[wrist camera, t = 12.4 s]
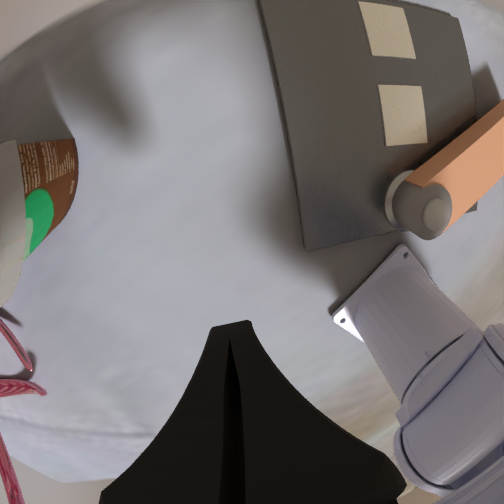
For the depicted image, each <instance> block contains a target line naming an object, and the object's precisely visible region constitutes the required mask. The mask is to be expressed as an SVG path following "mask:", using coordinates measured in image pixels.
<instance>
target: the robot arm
mask: <svg viewBox="0 0 504 504" xmlns="http://www.w3.org/2000/svg"><path fill="white" fill-rule="evenodd" d="M405 253H406V254H405ZM404 254H405V256H404ZM342 318H344V319H343V320H341V319H342ZM332 319H333V321H334V322H335V323H336V324H338V325H339V326H341V327H342V328H344V329H345V330H346V331H348V332H349V333H351V334H352V335H354V336H355V337H356V338H358V339H359V340H361V341H362V342H364V343H365V344H366V346H367V347H368V349H369V351H370V352H371V354H372V356H373V357H374V359H375V361H376V362H377V364H378V366H379V367H380V369H381V371H382V372H383V374H384V376H385V377H386V379H387V381H388V383H389V384H390V386H391V388H392V390H393V391H394V393H395V395H396V396H397V398H398V400H399V402H400V404H401V405H402V406H401V407H400V409H399V410H398V411H397V412H396V413H395V415H396V417H397V419H398V421H399V423H400V425H401V426H400V427H399V428H398V429H397V431H396V433H395V436H394V452H395V457H396V461H397V464H398V466H399V468H400V470H401V472H402V473H403V475H404V476H405V477H406V478H407V479H408V480H409V481H410V482H411V483H412V484H414V485H415V486H417V487H419V488H420V489H422V490H425V491H428V492H432V493H435V494H437V495H439V496H440V497H442V499H440V500H438V501H437V502H435V503H433V504H504V325H503V324H496V325H489V326H488V327H487V329H486V330H485V331H482V330H481V329H480V328H479V327H478V326H477V325H476V324H475V323H474V322H473V321H472V320H471V319H470V318H469V317H468V316H467V315H466V314H465V313H464V312H463V311H462V310H461V309H460V308H459V307H457V306H456V305H455V304H454V303H453V302H452V301H451V300H450V299H449V298H448V297H447V296H446V295H445V294H444V293H443V292H442V291H440V290H439V289H438V288H437V286H436V285H435V284H434V282H433V281H432V279H431V278H430V277H429V275H428V274H427V272H426V271H425V270H424V268H423V267H422V266H421V264H420V263H419V262H418V260H417V259H416V258H415V256H414V255H413V254H412V252H411V251H410V250H409V249H408V247H407V246H405V245H404V244H400V245H398V246H397V247H396V249H395V250H394V251H393V252H392V253H391V254H390V255H389V256H388V257H387V259H386V260H385V261H384V262H383V263H382V264H381V265H380V266H379V267H378V268H377V269H376V270H375V271H374V273H373V274H372V275H371V276H370V277H369V278H368V279H367V280H366V281H365V282H364V283H363V284H362V285H361V286H360V287H359V288H358V289H357V290H356V291H355V292H354V293H353V294H352V295H351V296H350V297H349V298H348V299H347V300H346V301H345V302H344V303H343V304H342V305H341V306H340V307H339V308H338V309H337V310H336V311H335V312H334V313H333V314H332ZM406 486H407V484H406V482H405V479H404V478H403V476H402V474H401V473H400V471H399V470H398V468H397V467H396V466H395V465H394V463H393V462H392V461H391V460H390V459H389V458H388V457H387V456H386V454H384V453H383V452H381V451H379V450H377V449H375V448H373V447H372V446H370V445H368V444H366V443H365V442H363V441H361V440H360V439H358V438H356V437H355V436H353V435H352V434H350V433H349V432H347V431H346V430H344V429H343V428H341V427H340V426H338V425H337V424H336V423H334V422H333V421H332V420H331V419H329V418H328V417H327V416H325V415H324V414H323V413H322V412H320V411H319V410H318V409H317V408H315V407H314V406H313V405H312V404H311V403H310V402H309V401H308V400H307V399H306V398H304V397H303V396H302V395H301V394H300V393H299V392H298V391H297V390H296V389H295V388H294V386H293V385H292V384H291V383H290V382H289V381H288V380H287V379H286V378H285V376H284V375H283V374H282V373H281V372H280V370H279V369H278V368H277V367H276V365H275V364H274V363H273V361H272V360H271V358H270V357H269V356H268V354H267V353H266V351H265V350H264V348H263V347H262V345H261V343H260V341H259V340H258V338H257V336H256V334H255V332H254V329H253V327H252V323H251V321H249V320H244V321H240V322H235V323H230V324H225V325H220V326H216V327H212V328H211V330H210V332H209V335H208V338H207V341H206V344H205V347H204V350H203V352H202V355H201V358H200V360H199V362H198V365H197V367H196V369H195V372H194V374H193V376H192V378H191V380H190V382H189V384H188V386H187V388H186V390H185V392H184V394H183V396H182V398H181V399H180V401H179V403H178V405H177V406H176V408H175V410H174V411H173V413H172V414H171V416H170V417H169V419H168V421H167V422H166V423H165V425H164V426H163V428H162V429H161V430H160V432H159V433H158V435H157V436H156V437H155V438H154V440H153V441H152V442H151V443H150V445H149V446H148V447H147V448H146V449H145V450H144V452H143V453H142V454H141V455H140V456H139V457H138V458H137V459H136V460H135V461H134V463H133V464H132V465H131V466H130V467H129V468H128V469H127V470H126V471H125V472H124V473H122V474H121V475H120V476H119V477H118V478H117V479H116V480H115V481H113V482H112V483H111V484H110V485H109V486H108V487H106V488H105V489H104V490H103V491H102V492H101V496H100V500H99V504H398V502H397V500H396V498H397V497H398V496H399V495H400V494H401V493H402V492H403V491H404V490H405V488H406Z"/></svg>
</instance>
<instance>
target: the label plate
mask: <svg viewBox="0 0 504 504" xmlns="http://www.w3.org/2000/svg"><path fill="white" fill-rule="evenodd" d="M258 2H259V6H260V10H261V14H262V18H263V22H264V26H265V30H266V34H267V39H268V43H269V47H270V52H271V56H272V61H273V65H274V70H275V75H276V80H277V85H278V89H279V94H280V99H281V105H282V110H283V115H284V120H285V126H286V131H287V137H288V143H289V149H290V155H291V161H292V167H293V173H294V179H295V186H296V192H297V199H298V206H299V213H300V220H301V228H302V235H303V243H304V248H305V250H306V251H311V250H315V249H319V248H324V247H328V246H332V245H336V244H341V243H345V242H349V241H353V240H358V239H362V238H366V237H370V236H374V235H379V234H383V233H387V232H391V231H395V230H401V231H410V230H408V229H407V228H405V227H403V226H402V225H400V224H399V223H398V222H397V221H396V219H395V218H394V215H393V212H392V200H393V196H394V193H395V191H396V189H397V187H398V186H399V185H400V183H401V182H403V181H404V178H406V177H407V176H408V175H410V174H411V173H412V172H414V171H415V170H416V169H418V168H419V167H420V166H421V165H423V164H424V163H425V162H427V161H428V160H429V159H430V158H432V157H433V156H434V155H436V154H437V153H438V152H439V151H441V150H442V149H443V148H444V147H446V146H447V145H448V144H450V143H451V142H452V141H453V140H455V139H456V138H457V137H458V136H460V135H461V134H462V133H463V132H465V131H466V130H467V129H468V128H469V127H471V126H472V125H473V124H474V123H476V122H477V115H476V105H475V96H474V89H473V82H472V76H471V70H470V65H469V60H468V55H467V51H466V46H465V42H464V38H463V34H462V30H461V27H460V23H459V20H458V18H455V17H452V16H449V15H446V14H443V13H439V12H436V11H432V10H429V9H425V8H421V7H417V6H413V5H408V4H404V3H399V2H393V1H388V0H258ZM476 210H477V202H476V203H475V204H474V205H473V206H472V207H471V208H469V209H468V210H467V211H466V212H465V213H468V212H472V211H476Z"/></svg>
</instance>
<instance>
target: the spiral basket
mask: <svg viewBox="0 0 504 504" xmlns="http://www.w3.org/2000/svg"><path fill="white" fill-rule="evenodd" d="M0 332H1V333H2V334H3V336H4V337H5V338H6V339H7V341H8V342H9V344H10V345H11V346H12V348H13V349H14V351H15V352H16V354H17V356H18V357H19V359H20V360H21V362H22V363H23V365H24V366H25V367H26V368H27V369H28V370H29V371H33V366H32V363H31V361H30V359H29V357H28V355H27V354H26V352H25V350H24V349H23V347H22V346H21V344H20V343H19V341H18V340H17V338H16V337H15V336H14V334H13V333H12V332H11V330H10V329H9V328H8V327H7V326H6V324H5V323H4V322H3V321H2V320H1V319H0ZM21 394H38V395H41V396H45V395H46V394H47V392H46V390H45V389H44V388H43V387H41V386H40V385H38V384H36V383H33V382H30V381H26V380H21V379H0V397H6V396H13V395H21ZM0 474H1V477H2V481H3V483H4V487H5V490H6V494H7V498H8V502H9V504H25V503H24V499H23V496H22V492H21V489H20V486H19V483H18V480H17V477H16V474H15V471H14V469H13V465H12V463H11V460H10V457H9V454H8V452H7V449H6V446H5V444H4V441H3V438H2V436H1V433H0Z"/></svg>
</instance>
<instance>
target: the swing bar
mask: <svg viewBox="0 0 504 504" xmlns="http://www.w3.org/2000/svg"><path fill="white" fill-rule="evenodd" d="M503 175H504V99H503V100H502V101H501V102H500V103H499V104H497V105H496V106H495V107H494V108H493V109H491V110H490V111H489V112H488V113H487V114H485V115H484V116H483V117H482V118H481V119H479V120H478V121H477V122H476V123H474V124H473V125H472V126H471V127H469V128H468V129H467V130H466V131H465V132H463V133H462V134H461V135H460V136H458V137H457V138H456V139H455V140H453V141H452V142H451V143H450V144H448V145H447V146H446V147H444V148H443V149H442V150H441V151H439V152H438V153H437V154H436V155H434V156H433V157H432V158H430V159H429V160H428V161H427V162H425V163H424V164H423V165H421V166H420V167H419V168H418V169H416V170H415V171H414V172H412V173H411V174H410V175H408V176H407V177H406V178H404V181H403V182H401V183H400V185H399V186H398V187H397V189H396V191H395V193H394V196H393V200H392V212H393V215H394V218H395V219H396V221H397V222H398V223H399V224H400V225H402V226H403V227H405V228H407V229H408V230H410V231H411V232H413V233H414V234H415V235H417V236H418V237H420V238H422V239H424V240H431V239H434V238H436V237H438V236H440V235H441V234H442V233H443V232H444V231H445V230H446V229H448V228H449V227H450V226H451V225H452V224H453V223H454V222H455V221H456V220H458V219H459V218H460V217H461V216H462V215H463V214H464V213H465V212H466V211H467V210H468V209H469V208H471V207H472V206H473V205H474V204H475V203H476V202H477V201H478V200H479V199H480V198H481V197H482V196H483V195H484V194H485V193H486V192H487V191H488V190H489V189H490V188H491V187H492V186H493V185H494V184H495V183H496V182H497V181H498V180H499V179H500V178H501V177H502V176H503Z"/></svg>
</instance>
